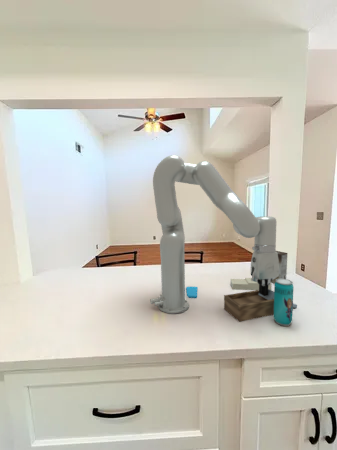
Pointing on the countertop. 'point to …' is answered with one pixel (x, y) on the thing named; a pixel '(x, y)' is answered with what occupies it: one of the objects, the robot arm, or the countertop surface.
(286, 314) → the beverage can
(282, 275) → the coffee box
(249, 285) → the electrical outlet
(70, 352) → the countertop surface
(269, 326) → the countertop surface
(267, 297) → the cover plate
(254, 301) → the walnut box
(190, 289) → the sponge
